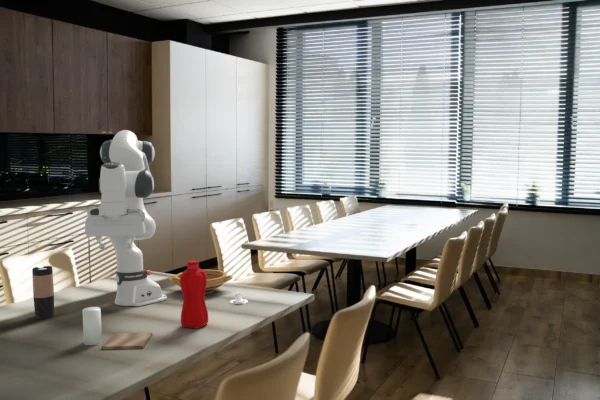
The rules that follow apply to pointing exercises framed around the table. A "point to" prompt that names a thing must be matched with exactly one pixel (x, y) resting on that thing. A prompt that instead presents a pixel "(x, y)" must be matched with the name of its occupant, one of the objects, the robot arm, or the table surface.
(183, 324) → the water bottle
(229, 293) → the table surface
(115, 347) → the walnut coaster
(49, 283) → the travel mug
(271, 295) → the table surface
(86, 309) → the white rounded block
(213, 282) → the wicker basket
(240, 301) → the teacup and saucer
